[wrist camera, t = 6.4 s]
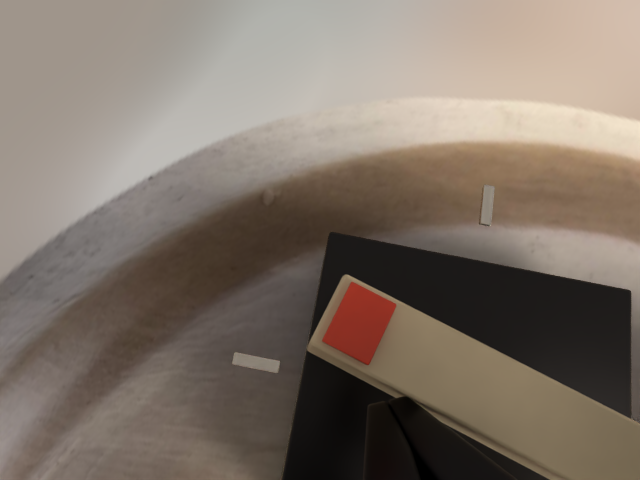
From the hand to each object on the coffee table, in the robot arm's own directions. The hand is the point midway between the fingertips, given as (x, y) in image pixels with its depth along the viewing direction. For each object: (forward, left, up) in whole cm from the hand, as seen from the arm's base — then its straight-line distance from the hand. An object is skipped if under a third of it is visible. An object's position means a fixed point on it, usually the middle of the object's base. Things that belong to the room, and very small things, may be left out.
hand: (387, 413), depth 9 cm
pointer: (-3, 0, -4) cm, 5 cm away
